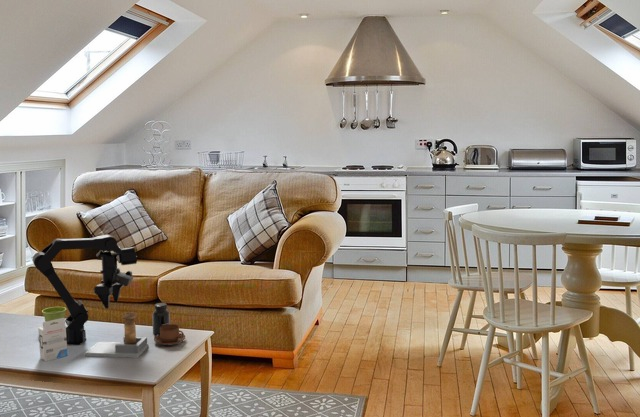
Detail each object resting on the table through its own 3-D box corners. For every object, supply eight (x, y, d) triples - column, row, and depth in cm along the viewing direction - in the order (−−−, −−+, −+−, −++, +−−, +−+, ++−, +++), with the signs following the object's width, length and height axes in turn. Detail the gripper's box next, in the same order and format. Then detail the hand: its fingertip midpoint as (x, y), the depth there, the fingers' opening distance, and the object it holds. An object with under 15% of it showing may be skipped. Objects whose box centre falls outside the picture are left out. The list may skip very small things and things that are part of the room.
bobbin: (124, 351, 255) (122, 317, 253) (124, 346, 259) (122, 313, 257) (137, 349, 256) (136, 316, 254) (137, 345, 260) (136, 312, 259)
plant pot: (40, 329, 284) (39, 308, 283) (64, 325, 289) (63, 305, 288) (45, 335, 276) (44, 314, 275) (69, 331, 281) (68, 310, 280)
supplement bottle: (165, 336, 275) (164, 307, 273) (150, 335, 276) (149, 306, 275) (172, 330, 282) (171, 302, 280) (157, 329, 283) (156, 301, 281)
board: (85, 355, 253) (84, 345, 253) (98, 344, 265) (97, 334, 264) (137, 357, 251) (137, 347, 251) (148, 346, 263) (148, 336, 263)
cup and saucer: (187, 337, 274) (187, 322, 273) (182, 347, 262) (182, 332, 261) (157, 337, 274) (157, 322, 273) (151, 347, 262) (150, 332, 261)
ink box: (62, 352, 257) (60, 314, 255) (68, 355, 253) (65, 317, 251) (39, 358, 251) (37, 319, 249) (44, 361, 247) (42, 322, 245)
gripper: (120, 272, 260) (122, 312, 263) (137, 261, 279) (139, 298, 281) (92, 272, 261) (94, 311, 264) (111, 261, 280) (113, 298, 282)
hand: (111, 305), depth 273 cm, fingers open, 9 cm apart
